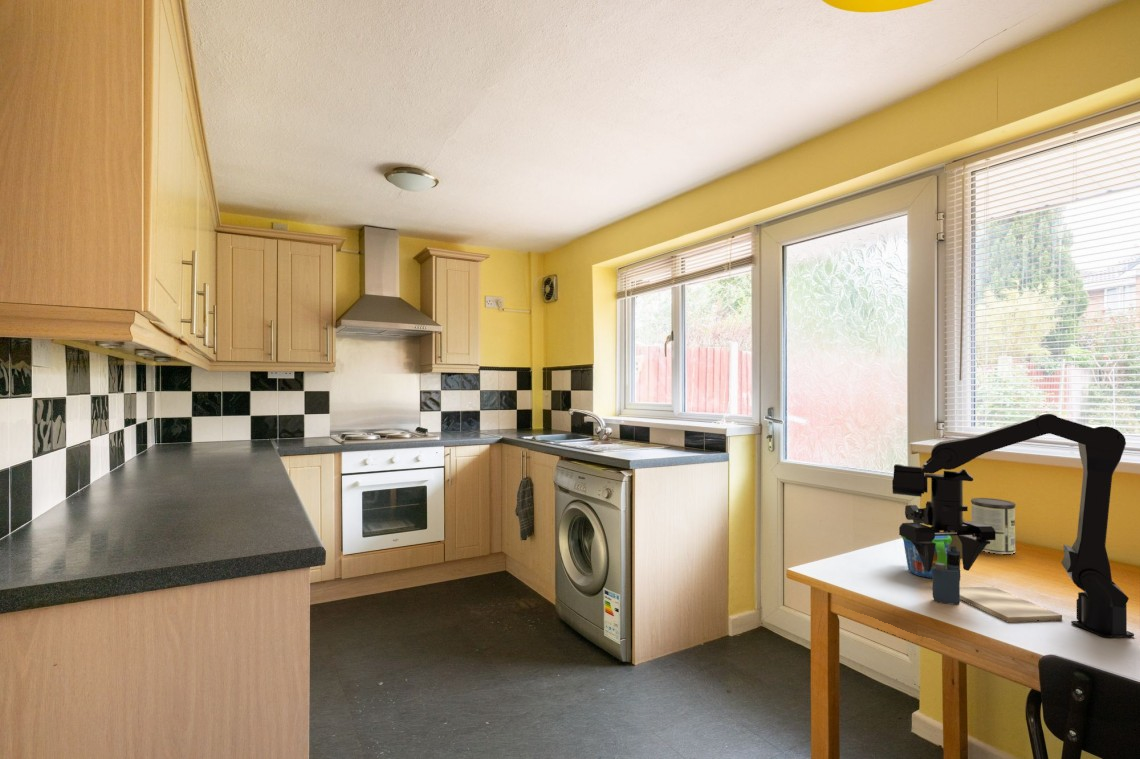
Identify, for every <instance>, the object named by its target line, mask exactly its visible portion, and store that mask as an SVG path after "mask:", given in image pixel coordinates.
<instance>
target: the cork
mask: <svg viewBox="0 0 1140 759" xmlns="http://www.w3.org/2000/svg"><path fill="white" fill-rule="evenodd" d="M963 522H966V521H965V519H964V518H963ZM950 537H951V539H952V542H951V543H950V545H949V547H948V550H951V546H953V547H956V551H959V552H960V559H962V543H961V541H960V539H959V537H958V536H957V535H950Z"/></svg>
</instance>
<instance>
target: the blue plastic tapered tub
mask: <svg viewBox="0 0 1140 759" xmlns="http://www.w3.org/2000/svg"><path fill="white" fill-rule="evenodd" d="M900 537H901V538H902V540H903V546H904V553H905V558H906V564H907V570H908V571H909V572H910V573H912V574H914V575H916V576H919V577H922V578H923V577H924V578H928V579H929V578H931V579H933V569H934V567H935V563H944V564H946V567H947V550H948V547H949V545H950V543H951V542H952V539H951V537H950V536H935V538H934V539H933V541H932V542H934V543H936V546H935V551H934V557H933V563H932V568H931V571H930V572H927V571H925V569H924V566H923V564H922V561H921V559H920V556H919V553H918V551H917V549H916V547H915V546H914V544H913V543H912V542H911V541H909V540H907V539H906V538H905V537H904V536H901V535H900Z"/></svg>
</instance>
